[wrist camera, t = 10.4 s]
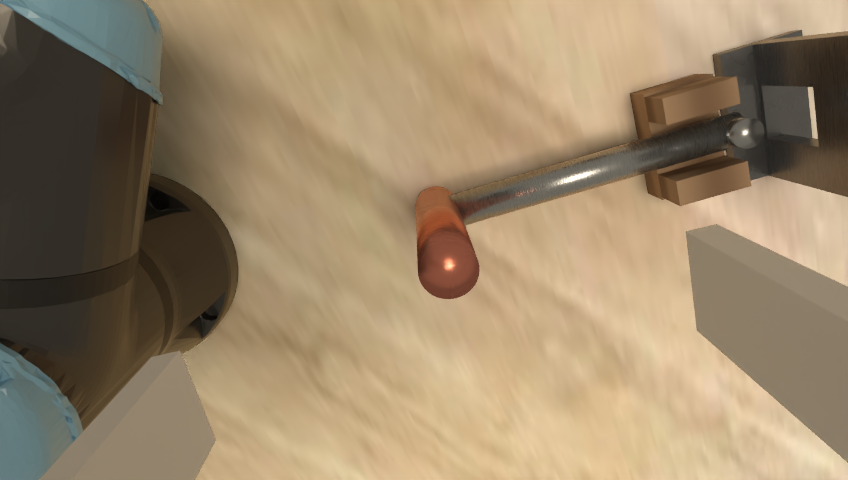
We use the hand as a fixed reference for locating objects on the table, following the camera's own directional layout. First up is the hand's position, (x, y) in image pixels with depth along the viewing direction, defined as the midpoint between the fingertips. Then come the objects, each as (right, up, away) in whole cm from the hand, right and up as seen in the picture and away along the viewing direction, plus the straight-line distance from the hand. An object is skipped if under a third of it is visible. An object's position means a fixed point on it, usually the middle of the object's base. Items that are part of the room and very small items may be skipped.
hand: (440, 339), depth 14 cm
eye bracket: (+25, +13, +29) cm, 40 cm away
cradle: (+19, +11, +29) cm, 36 cm away
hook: (+11, +8, +29) cm, 32 cm away
